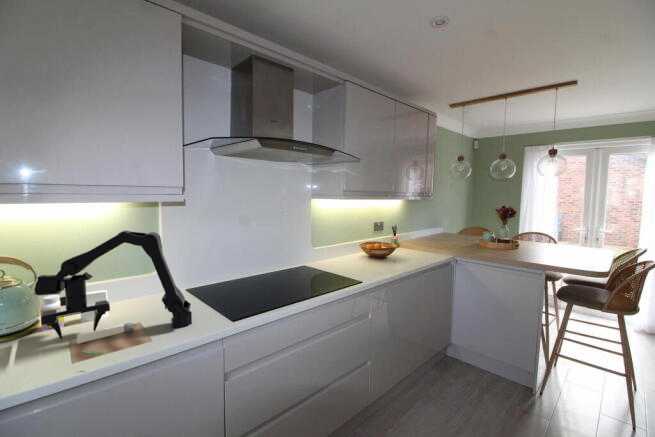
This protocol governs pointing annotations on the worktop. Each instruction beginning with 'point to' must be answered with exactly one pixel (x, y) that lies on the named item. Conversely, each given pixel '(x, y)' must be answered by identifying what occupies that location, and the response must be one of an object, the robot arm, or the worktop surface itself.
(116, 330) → the dial needle
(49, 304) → the supplement bottle
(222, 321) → the worktop surface
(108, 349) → the board
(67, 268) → the robot arm
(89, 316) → the white open-front box
